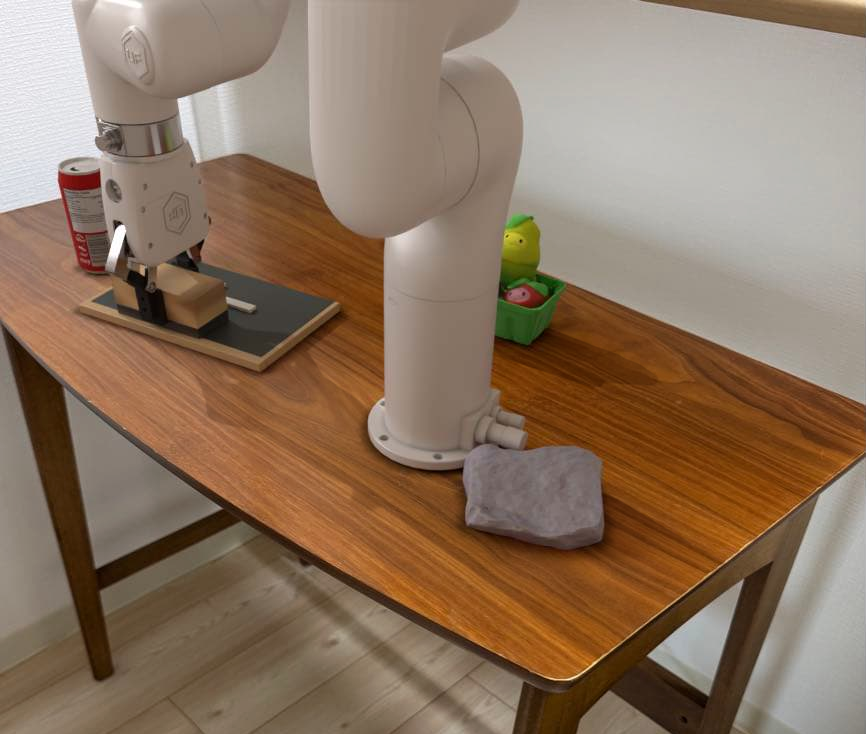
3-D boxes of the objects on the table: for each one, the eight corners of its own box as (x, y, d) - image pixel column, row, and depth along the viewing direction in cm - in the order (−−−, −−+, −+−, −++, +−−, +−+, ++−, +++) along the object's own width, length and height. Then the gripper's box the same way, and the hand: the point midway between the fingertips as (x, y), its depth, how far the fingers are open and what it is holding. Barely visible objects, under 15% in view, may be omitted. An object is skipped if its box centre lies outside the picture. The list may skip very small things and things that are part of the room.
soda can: (112, 250, 110) (90, 149, 102) (136, 265, 107) (115, 163, 99) (70, 263, 107) (44, 160, 99) (94, 279, 104) (69, 175, 96)
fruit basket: (439, 325, 99) (443, 225, 91) (478, 294, 105) (484, 197, 97) (532, 355, 95) (545, 253, 87) (567, 321, 101) (581, 222, 93)
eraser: (229, 319, 97) (224, 280, 94) (199, 339, 93) (193, 299, 90) (149, 294, 100) (141, 255, 97) (117, 312, 97) (109, 273, 94)
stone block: (606, 566, 74) (596, 473, 80) (614, 531, 70) (604, 436, 76) (461, 563, 74) (462, 471, 80) (461, 528, 70) (463, 434, 76)
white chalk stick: (256, 308, 99) (256, 305, 98) (249, 313, 98) (249, 310, 97) (226, 299, 100) (226, 296, 100) (220, 304, 99) (219, 300, 99)
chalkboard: (340, 310, 101) (339, 302, 100) (260, 372, 91) (259, 364, 90) (171, 260, 109) (169, 252, 108) (80, 312, 99) (78, 304, 98)
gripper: (107, 169, 77) (146, 355, 89) (229, 115, 89) (249, 287, 101) (42, 152, 80) (88, 335, 92) (169, 101, 91) (195, 271, 103)
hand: (172, 308), depth 96 cm, fingers closed on eraser, 5 cm apart
